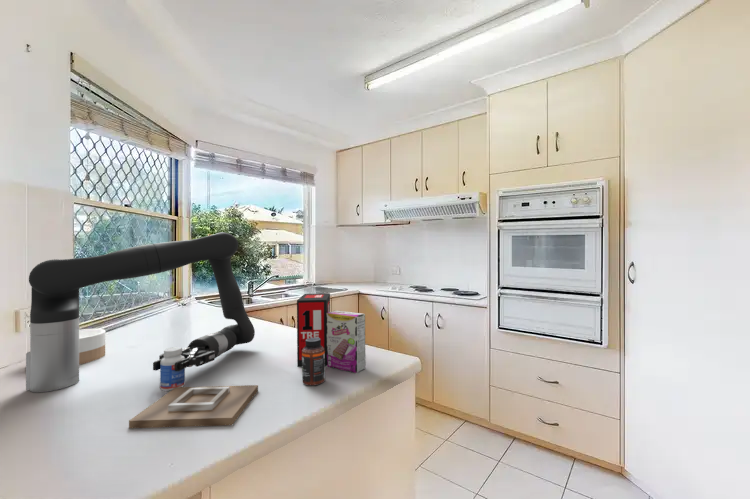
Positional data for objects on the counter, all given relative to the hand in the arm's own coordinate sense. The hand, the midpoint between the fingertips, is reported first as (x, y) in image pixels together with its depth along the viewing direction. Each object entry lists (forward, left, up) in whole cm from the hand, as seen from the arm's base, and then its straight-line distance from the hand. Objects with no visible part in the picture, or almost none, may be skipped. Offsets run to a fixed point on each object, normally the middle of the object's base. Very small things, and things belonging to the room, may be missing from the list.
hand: (165, 366), depth 81 cm
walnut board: (+13, -9, -6) cm, 17 cm away
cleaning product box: (+34, +24, -6) cm, 42 cm away
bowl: (-47, +28, -6) cm, 54 cm away
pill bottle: (0, +3, -6) cm, 7 cm away
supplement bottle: (+36, +4, -6) cm, 37 cm away
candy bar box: (+44, +13, -6) cm, 47 cm away
